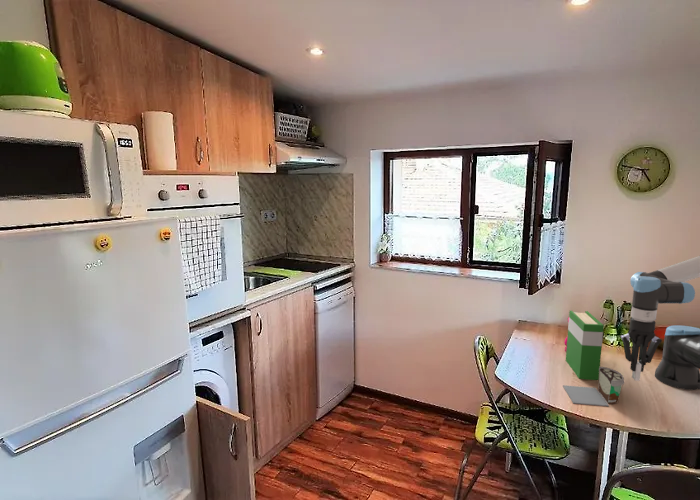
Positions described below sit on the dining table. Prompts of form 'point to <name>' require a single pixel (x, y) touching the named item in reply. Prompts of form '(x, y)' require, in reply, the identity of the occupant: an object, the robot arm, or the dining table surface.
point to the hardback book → (584, 345)
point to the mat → (585, 395)
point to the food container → (610, 384)
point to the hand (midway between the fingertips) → (635, 378)
